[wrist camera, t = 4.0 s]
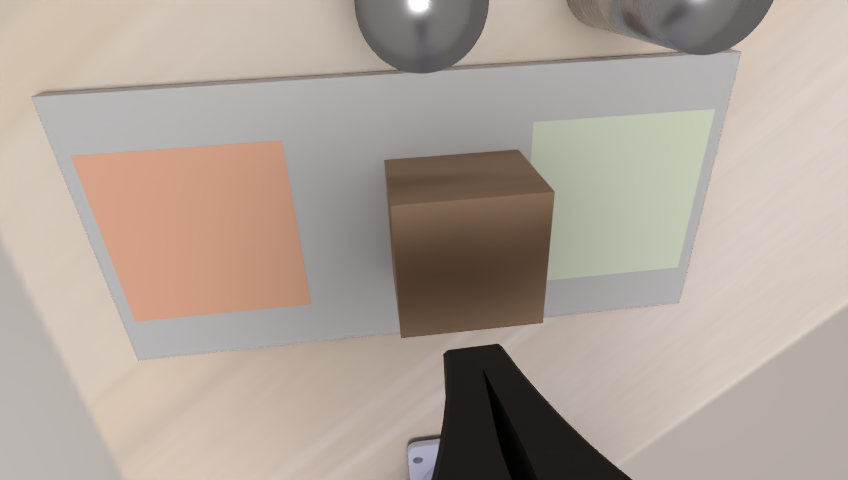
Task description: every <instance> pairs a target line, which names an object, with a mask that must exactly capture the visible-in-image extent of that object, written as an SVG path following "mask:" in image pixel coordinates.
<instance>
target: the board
mask: <svg viewBox="0 0 848 480" xmlns="http://www.w3.org/2000/svg"><path fill="white" fill-rule="evenodd" d="M740 55H741V52H740V51H736V50H732V49H727V50H724V51H722V52H719V53H715V54H711V55H693V54H688V53H685V52H680V53H664V54H648V55H632V56H616V57H600V58H585V59H569V60H553V61H537V62H521V63H505V64H489V65H474V66H458V67H448V68H446V69H443V70H441V71H437V72H433V73H426V74H417V73H410V72H406V71H402V70H394V71H379V72H363V73H347V74H331V75H315V76H299V77H284V78H268V79H252V80H236V81H220V82H204V83H189V84H173V85H157V86H141V87H125V88H109V89H94V90H78V91H62V92H46V93H39V94H37V95H35V96H32V97H31V98H32V101H33V103H34V106H35V108H36V111H37V113H38V116H39V118H40V121H41V123H42V125H43V128H44V130H45V133H46V135H47V138H48V140H49V143H50V145H51V148H52V150H53V153H54V155H55V158H56V160H57V162H58V165H59V167H60V170H61V172H62V175H63V177H64V180H65V182H66V185H67V187H68V190H69V192H70V194H71V197H72V199H73V202H74V204H75V207H76V209H77V212H78V214H79V217H80V219H81V222H82V224H83V227H84V229H85V231H86V234H87V236H88V239H89V241H90V244H91V246H92V249H93V251H94V254H95V256H96V259H97V261H98V263H99V266H100V268H101V271H102V273H103V276H104V278H105V281H106V283H107V286H108V288H109V291H110V293H111V296H112V298H113V300H114V303H115V305H116V308H117V310H118V313H119V315H120V318H121V320H122V323H123V325H124V328H125V330H126V332H127V335H128V337H129V340H130V342H131V345H132V347H133V350H134V352H135V355H136V357H137V360H138V361H139V360H148V359H157V358H167V357H176V356H186V355H195V354H204V353H214V352H223V351H233V350H242V349H251V348H261V347H270V346H280V345H289V344H298V343H308V342H317V341H327V340H336V339H345V338H355V337H364V336H373V335H383V334H392V333H400V325H399V317H398V308H397V300H396V292H395V284H394V276H393V264H392V251H391V239H390V226H389V214H388V202H387V189H386V177H385V164H384V160H390V159H402V158H415V157H428V156H441V155H454V154H467V153H480V152H492V151H505V150H519V151H520V152H521V153H522V154H523V156H524V157H525V158H526V159H527V160H528V161H529V162H530V164H531V165H532V166H533V167H534V168H535V169H536V171H537V172H538V173H539V174H540V175H541V176H542V178H543V179H544V180H545V181H546V182H547V183H548V185H549V186H550V187H551V188H552V189H553V190H554V191H555V196H554V207H553V218H552V229H551V239H550V250H549V261H548V272H547V283H546V294H545V305H544V316H543V317H552V316H561V315H571V314H580V313H589V312H599V311H608V310H618V309H627V308H636V307H646V306H655V305H665V304H674V303H679V302H680V298H681V294H682V290H683V286H684V282H685V278H686V273H687V269H688V265H689V261H690V257H691V253H692V249H693V245H694V241H695V237H696V233H697V229H698V225H699V221H700V217H701V213H702V209H703V205H704V201H705V197H706V193H707V189H708V185H709V181H710V176H711V172H712V168H713V164H714V160H715V156H716V152H717V148H718V144H719V140H720V136H721V132H722V128H723V124H724V120H725V116H726V112H727V108H728V104H729V100H730V96H731V92H732V88H733V84H734V79H735V75H736V71H737V67H738V63H739V59H740Z"/></svg>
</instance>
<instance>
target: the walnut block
mask: <svg viewBox="0 0 848 480" xmlns="http://www.w3.org/2000/svg"><path fill="white" fill-rule="evenodd" d="M384 164H385V177H386V189H387V202H388V214H389V226H390V239H391V251H392V264H393V276H394V284H395V292H396V300H397V308H398V317H399V325H400V333H401V338H406V337H415V336H424V335H434V334H443V333H452V332H462V331H471V330H480V329H490V328H499V327H508V326H518V325H527V324H536V323H543V316H544V305H545V294H546V283H547V272H548V261H549V250H550V239H551V229H552V218H553V207H554V196H555V191H554V190H553V189H552V188H551V187H550V186H549V185H548V183H547V182H546V181H545V180H544V179H543V178H542V176H541V175H540V174H539V173H538V172H537V171H536V169H535V168H534V167H533V166H532V165H531V164H530V162H529V161H528V160H527V159H526V158H525V157H524V156H523V154H522V153H521V152H520V151H519V150H505V151H492V152H480V153H467V154H454V155H441V156H428V157H415V158H402V159H390V160H384Z"/></svg>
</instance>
